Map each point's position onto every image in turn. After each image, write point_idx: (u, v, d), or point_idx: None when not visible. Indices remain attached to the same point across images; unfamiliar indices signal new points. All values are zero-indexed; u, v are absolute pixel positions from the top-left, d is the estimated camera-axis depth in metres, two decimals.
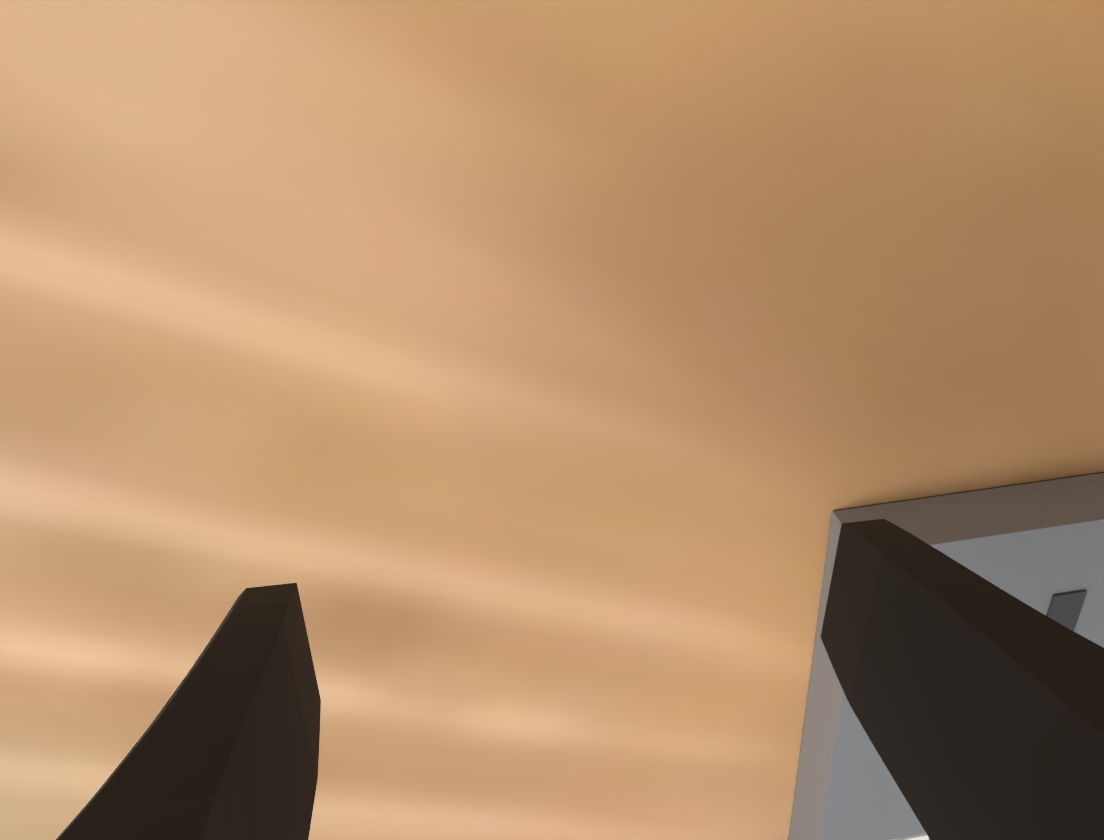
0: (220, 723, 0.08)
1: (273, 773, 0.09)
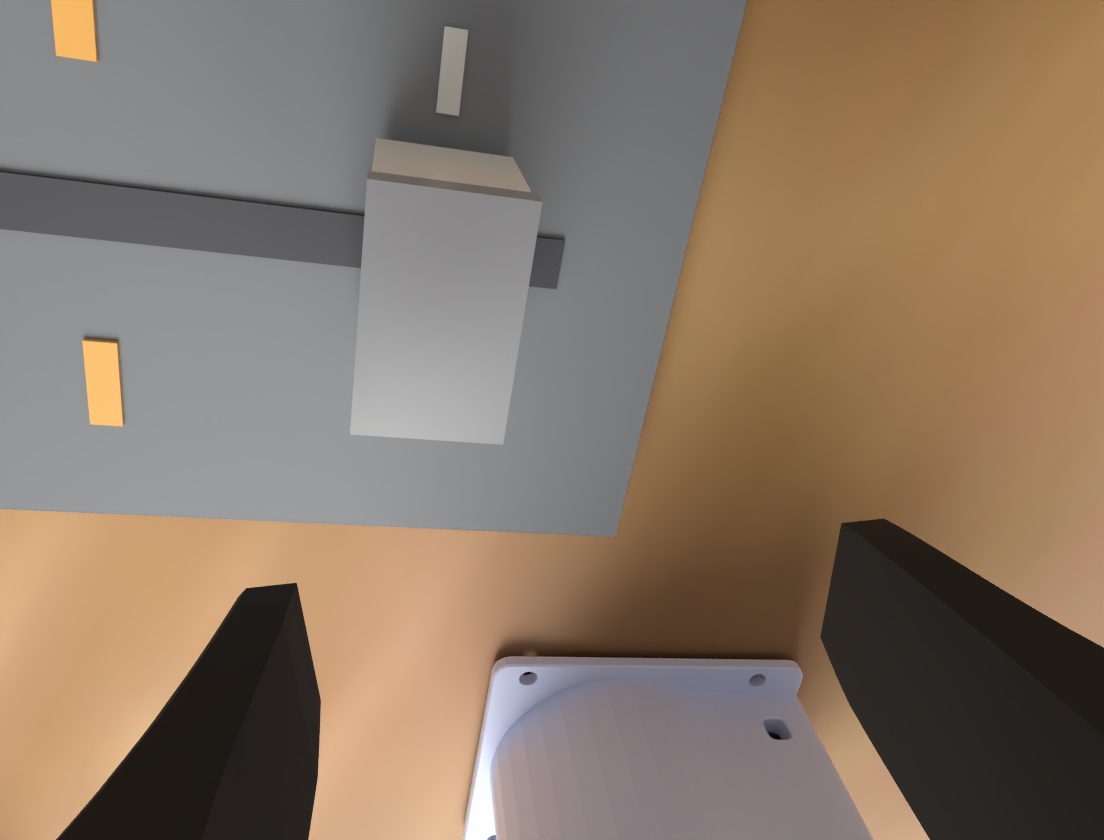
0: (220, 723, 0.08)
1: (273, 773, 0.09)
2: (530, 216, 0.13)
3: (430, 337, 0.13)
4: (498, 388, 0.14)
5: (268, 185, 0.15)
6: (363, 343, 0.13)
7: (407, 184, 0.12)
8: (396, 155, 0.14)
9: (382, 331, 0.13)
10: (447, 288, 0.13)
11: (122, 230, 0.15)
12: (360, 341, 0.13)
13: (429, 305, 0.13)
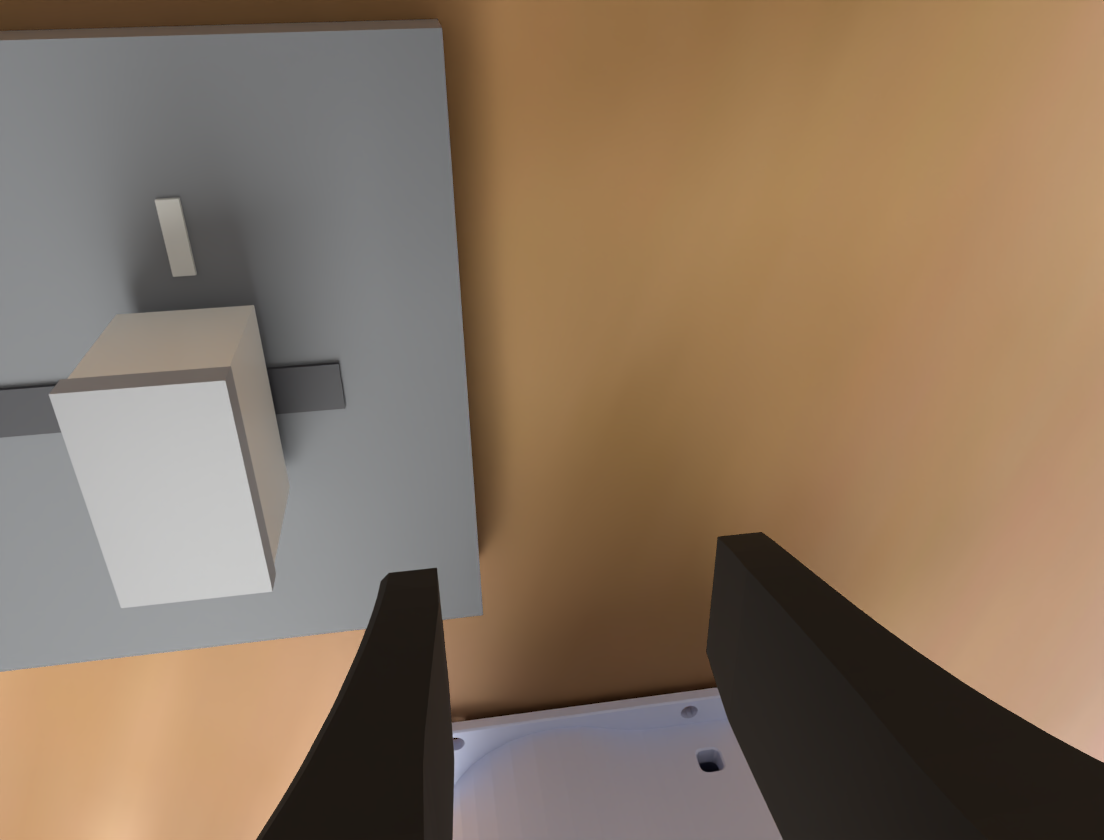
0: (405, 699, 0.08)
1: (439, 750, 0.09)
2: (218, 395, 0.13)
3: (164, 514, 0.14)
4: (248, 545, 0.14)
5: (38, 369, 0.16)
6: (102, 530, 0.14)
7: (89, 391, 0.13)
8: (118, 339, 0.14)
9: (116, 518, 0.14)
10: (163, 470, 0.13)
11: None
12: (98, 530, 0.14)
13: (151, 488, 0.14)
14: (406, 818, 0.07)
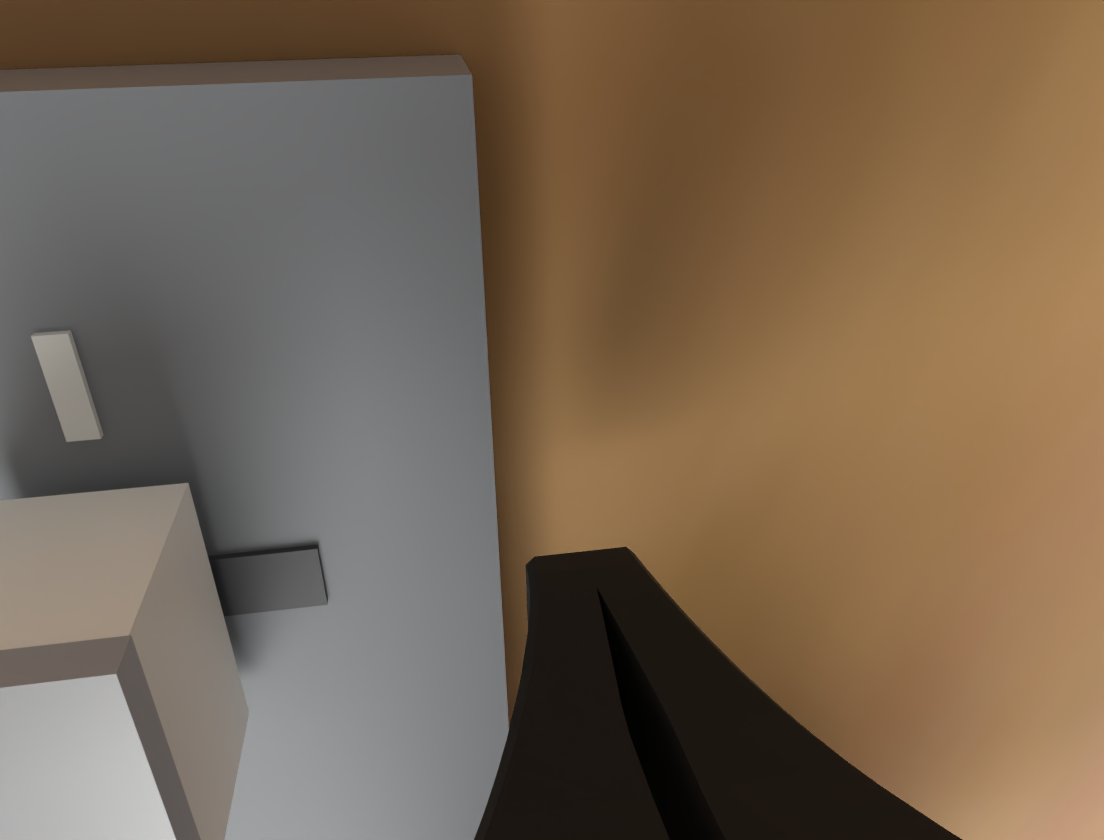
0: (593, 675, 0.08)
1: None
2: (107, 694, 0.08)
3: None
4: None
5: None
6: None
7: None
8: None
9: None
10: (23, 801, 0.08)
11: None
12: None
13: (6, 824, 0.08)
14: (632, 785, 0.07)
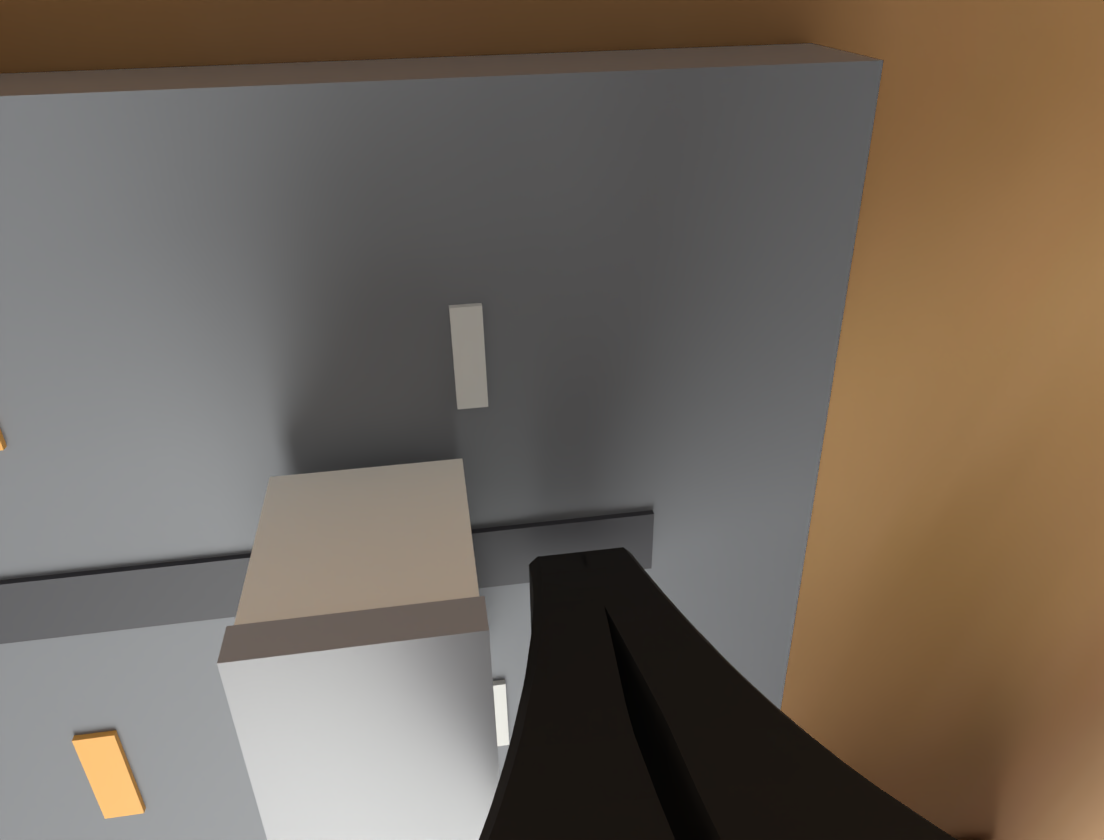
0: (596, 674, 0.08)
1: None
2: (475, 650, 0.08)
3: (370, 808, 0.09)
4: None
5: None
6: (277, 834, 0.09)
7: (279, 656, 0.08)
8: (288, 530, 0.10)
9: (299, 818, 0.09)
10: (377, 753, 0.09)
11: (87, 621, 0.12)
12: (271, 835, 0.09)
13: (357, 776, 0.09)
14: (636, 784, 0.07)
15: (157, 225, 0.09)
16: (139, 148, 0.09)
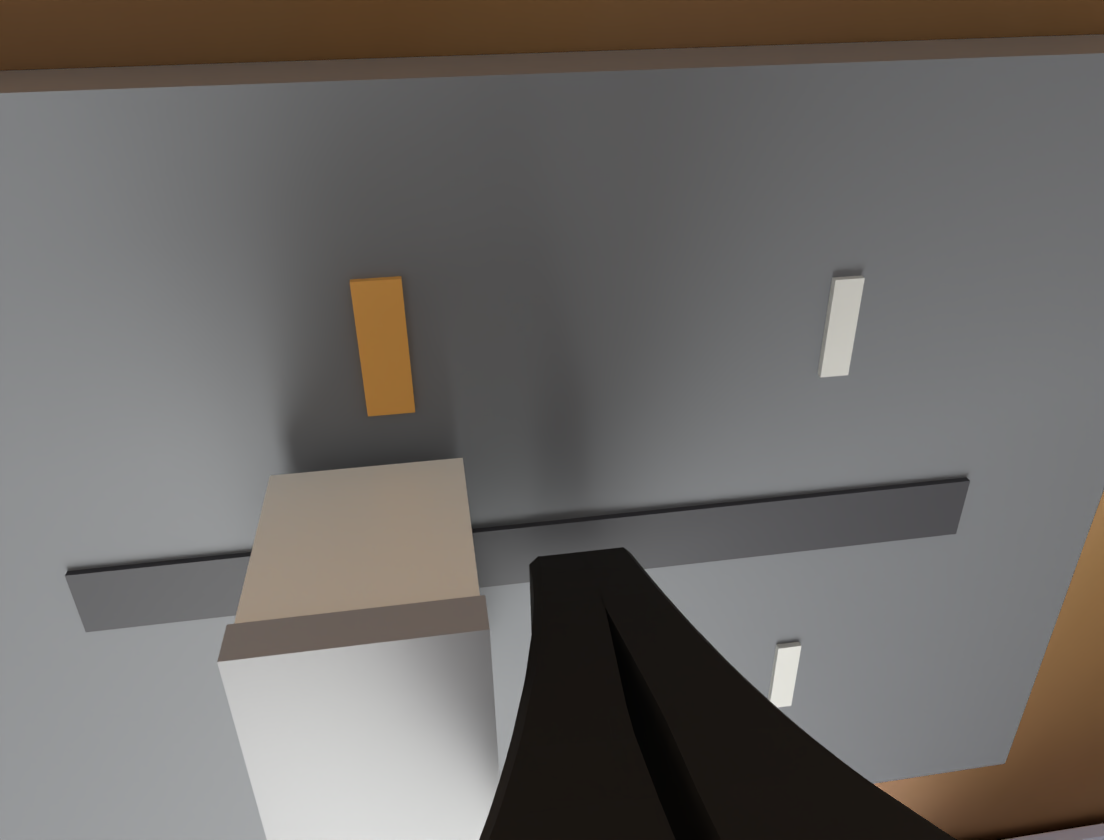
0: (597, 674, 0.08)
1: None
2: (476, 649, 0.08)
3: (370, 807, 0.09)
4: None
5: (614, 495, 0.12)
6: (276, 832, 0.09)
7: (280, 654, 0.08)
8: (288, 528, 0.10)
9: (299, 816, 0.09)
10: (377, 752, 0.09)
11: None
12: (270, 834, 0.09)
13: (355, 776, 0.09)
14: (637, 785, 0.07)
15: (595, 198, 0.10)
16: (598, 125, 0.10)
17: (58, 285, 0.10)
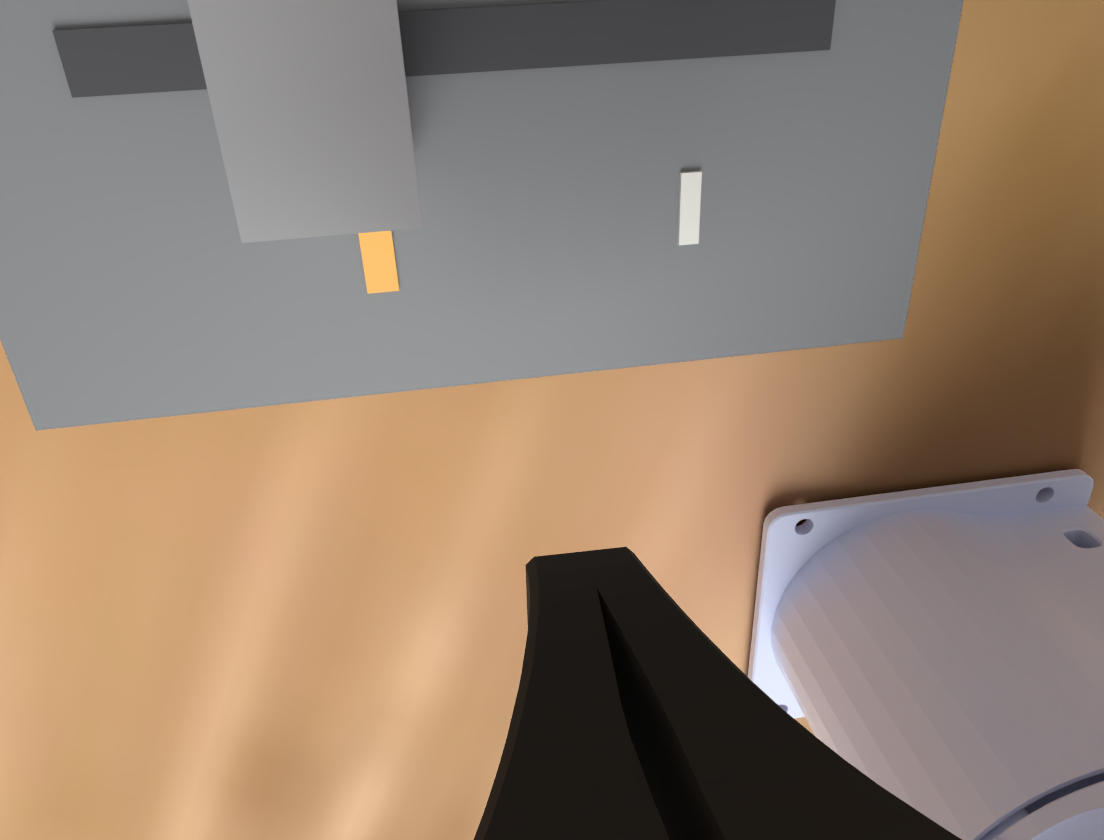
0: (592, 675, 0.08)
1: None
2: None
3: (299, 100, 0.11)
4: (397, 154, 0.12)
5: None
6: (223, 122, 0.11)
7: None
8: None
9: (240, 103, 0.11)
10: (301, 30, 0.11)
11: None
12: (218, 119, 0.11)
13: (285, 57, 0.11)
14: (631, 785, 0.07)
15: None
16: None
17: None
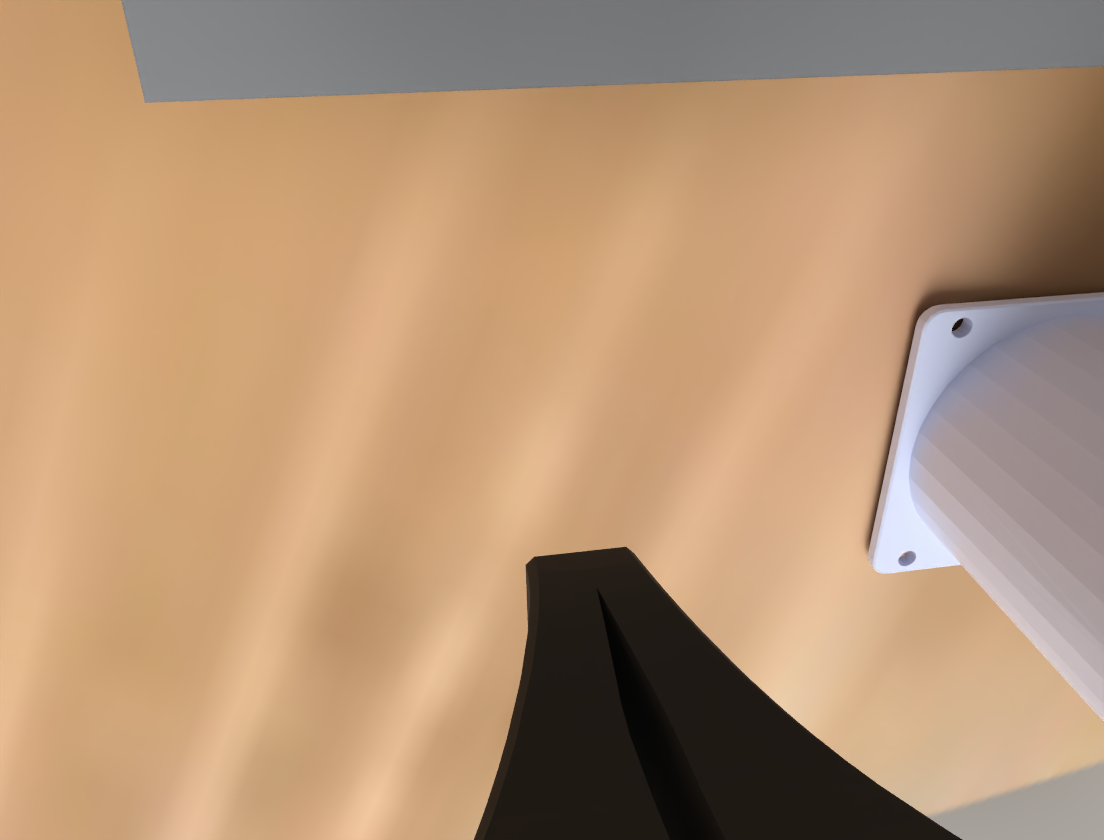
0: (592, 675, 0.08)
1: None
2: None
3: None
4: None
5: None
6: None
7: None
8: None
9: None
10: None
11: None
12: None
13: None
14: (631, 785, 0.07)
15: None
16: None
17: None
